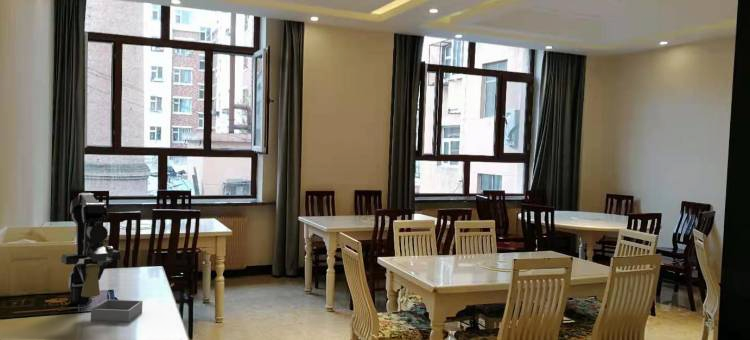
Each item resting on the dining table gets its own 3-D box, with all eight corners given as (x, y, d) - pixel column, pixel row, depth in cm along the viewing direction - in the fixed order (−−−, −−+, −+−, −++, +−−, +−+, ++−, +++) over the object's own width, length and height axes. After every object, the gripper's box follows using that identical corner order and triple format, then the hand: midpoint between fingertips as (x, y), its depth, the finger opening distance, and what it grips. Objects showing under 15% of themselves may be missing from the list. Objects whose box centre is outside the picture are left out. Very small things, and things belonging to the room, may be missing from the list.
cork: (85, 292, 200) (87, 262, 200) (102, 293, 201) (104, 263, 200) (77, 296, 194) (79, 265, 194) (95, 297, 195) (96, 266, 194)
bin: (90, 321, 193) (91, 309, 193) (106, 310, 206) (107, 299, 206) (128, 322, 193) (129, 310, 193) (142, 312, 206) (142, 300, 206)
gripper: (72, 242, 185) (70, 289, 185) (128, 238, 198) (127, 281, 199) (61, 238, 192) (59, 282, 193) (116, 234, 206) (114, 276, 206)
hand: (91, 280), depth 197 cm, fingers closed on cork, 5 cm apart
